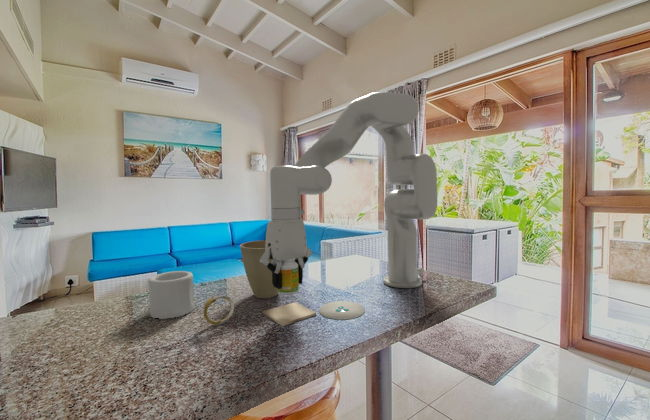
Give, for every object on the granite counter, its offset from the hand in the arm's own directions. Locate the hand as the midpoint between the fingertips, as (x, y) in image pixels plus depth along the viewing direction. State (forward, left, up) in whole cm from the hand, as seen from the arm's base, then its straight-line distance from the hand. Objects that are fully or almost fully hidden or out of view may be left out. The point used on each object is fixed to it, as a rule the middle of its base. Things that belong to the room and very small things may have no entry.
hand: (288, 284), depth 78 cm
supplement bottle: (0, 0, -2) cm, 2 cm away
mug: (+23, -24, -8) cm, 34 cm away
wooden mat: (0, 0, -8) cm, 8 cm away
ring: (+16, -6, -8) cm, 19 cm away
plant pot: (-3, -18, -8) cm, 20 cm away
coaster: (-12, +7, -8) cm, 16 cm away
